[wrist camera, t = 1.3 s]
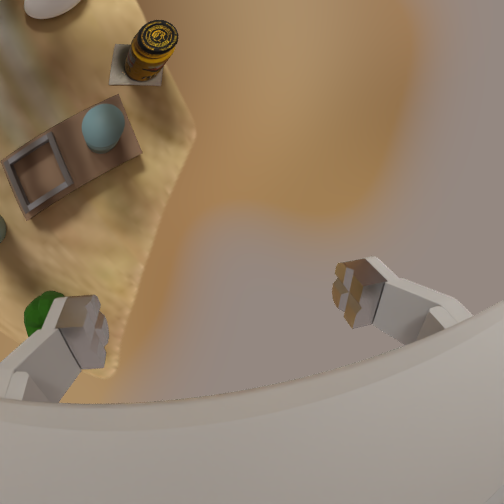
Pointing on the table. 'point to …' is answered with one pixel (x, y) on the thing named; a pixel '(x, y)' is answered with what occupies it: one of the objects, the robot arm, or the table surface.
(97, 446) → the robot arm
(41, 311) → the bell pepper
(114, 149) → the base
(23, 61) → the table surface
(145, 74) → the condiment
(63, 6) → the flower in vase
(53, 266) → the table surface
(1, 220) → the column
